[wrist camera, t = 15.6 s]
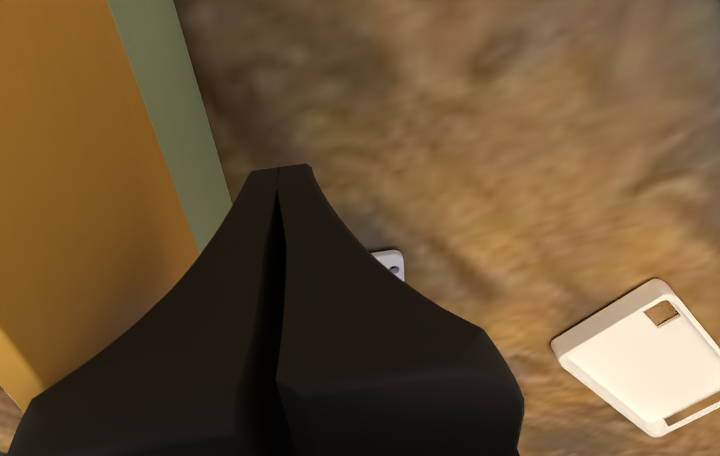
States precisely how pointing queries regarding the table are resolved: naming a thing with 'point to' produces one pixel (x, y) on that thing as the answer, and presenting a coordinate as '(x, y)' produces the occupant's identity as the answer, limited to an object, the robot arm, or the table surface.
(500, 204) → the table surface
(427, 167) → the table surface
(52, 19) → the lid
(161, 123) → the green open box
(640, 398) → the phone case
